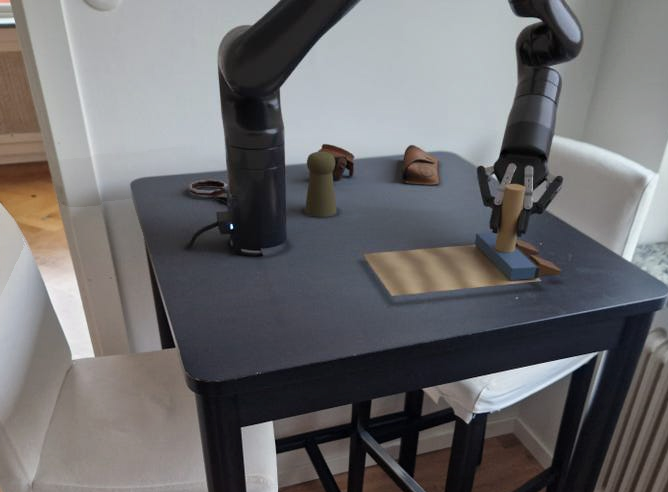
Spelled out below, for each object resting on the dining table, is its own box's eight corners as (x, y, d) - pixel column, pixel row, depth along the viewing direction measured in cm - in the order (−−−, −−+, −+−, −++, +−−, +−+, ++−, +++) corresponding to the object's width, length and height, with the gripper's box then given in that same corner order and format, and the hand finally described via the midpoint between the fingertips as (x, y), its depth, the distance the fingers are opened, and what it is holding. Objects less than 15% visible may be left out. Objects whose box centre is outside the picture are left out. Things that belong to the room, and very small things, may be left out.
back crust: (512, 255, 110) (518, 244, 109) (503, 247, 113) (509, 236, 112) (534, 262, 112) (539, 251, 111) (524, 254, 115) (530, 243, 114)
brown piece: (299, 177, 147) (312, 141, 146) (336, 193, 151) (349, 158, 150) (320, 179, 136) (334, 140, 135) (359, 196, 141) (373, 158, 140)
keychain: (252, 215, 126) (252, 205, 124) (180, 193, 135) (179, 183, 133) (279, 204, 131) (279, 194, 130) (208, 184, 140) (208, 174, 139)
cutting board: (391, 305, 97) (391, 295, 97) (361, 262, 110) (361, 254, 109) (539, 289, 103) (541, 280, 103) (496, 250, 115) (497, 242, 115)
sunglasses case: (442, 183, 144) (428, 155, 141) (412, 198, 146) (398, 171, 143) (439, 159, 159) (427, 134, 156) (412, 173, 161) (400, 148, 158)
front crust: (533, 274, 104) (540, 263, 103) (523, 265, 107) (530, 254, 106) (555, 282, 106) (562, 271, 105) (545, 273, 108) (551, 262, 108)
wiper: (509, 280, 102) (523, 203, 95) (474, 244, 113) (484, 173, 107) (537, 278, 103) (553, 201, 96) (499, 242, 114) (511, 172, 108)
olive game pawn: (332, 218, 126) (333, 159, 120) (301, 215, 127) (300, 156, 121) (339, 207, 131) (341, 150, 125) (309, 204, 132) (309, 147, 126)
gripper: (484, 114, 105) (460, 215, 101) (577, 124, 101) (556, 229, 98) (484, 140, 112) (462, 236, 109) (572, 151, 108) (551, 250, 105)
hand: (507, 232), depth 103 cm, fingers closed on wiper, 3 cm apart
